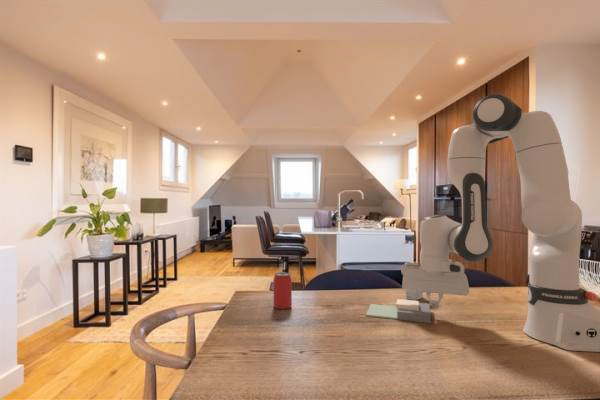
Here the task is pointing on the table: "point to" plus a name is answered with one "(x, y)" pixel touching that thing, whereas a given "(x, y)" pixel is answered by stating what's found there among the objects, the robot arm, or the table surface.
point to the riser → (416, 314)
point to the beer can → (282, 290)
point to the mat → (382, 311)
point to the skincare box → (414, 295)
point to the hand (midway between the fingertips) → (434, 306)
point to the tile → (407, 304)
